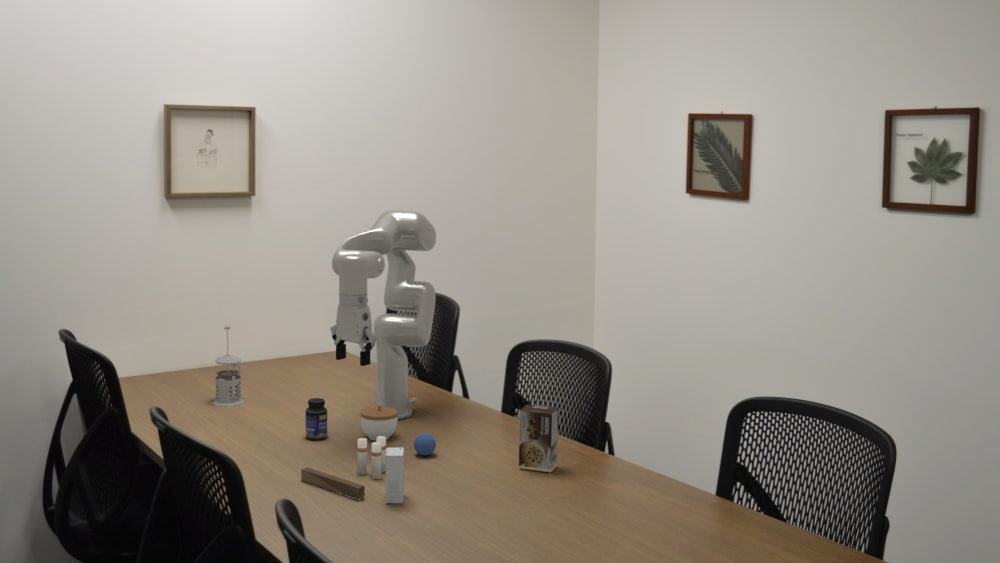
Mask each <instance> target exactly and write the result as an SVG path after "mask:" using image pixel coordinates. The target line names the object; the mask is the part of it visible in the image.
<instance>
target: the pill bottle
mask: <svg viewBox="0 0 1000 563" xmlns="http://www.w3.org/2000/svg"><path fill="white" fill-rule="evenodd" d="M325 401H326V399H324V398H321V397H313V398H310V399H309V398H308V400H307V405H308V407H307V408H305V438H306V439H307V440H310V441H317V440H318V441H323V440H325V439H326V438H328V409H327V408H326V407H325V405H326V402H325Z"/></svg>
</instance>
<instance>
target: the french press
mask: <svg viewBox="0 0 1000 563" xmlns="http://www.w3.org/2000/svg"><path fill="white" fill-rule="evenodd" d="M224 330H226V338H227V340H226V342H227V347H226V348H227V354H226V355H222V356H219V357H217V358H216V359H215V360H214V362H215V364H217V365H223V366H224V365H227V366H231V367H234V368H233V370H232V369H223V370H219V371H217V372H216V375H217V376H215V400H214V401H213V402H212V405H214V406H216V407H223V406H229V407H235V406H234V405H237V406H240V405H239V404H241V403H243V402H244V403H245V400H244V399H243V398H242V394H241V393H242V390H241V389H242V382H241V381H242V380H241V378H242V377H241V376H242V375H241V366H240V363H241V362H242V359H241V358H240V357H238V356H236V355H232V354H231V355H230V354H229V330H231V326H230V325H225V326H224ZM237 365H238V370H236V366H237ZM243 400H244V401H243ZM244 403H243V404H244ZM241 405H242V404H241Z"/></svg>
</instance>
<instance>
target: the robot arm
mask: <svg viewBox="0 0 1000 563" xmlns="http://www.w3.org/2000/svg"><path fill="white" fill-rule="evenodd" d="M436 242H437V233H436V230H435V227H434V225H433V224H432V223H431V222H430V221H429V220H428V218H427V217H426V216H425V215H424V214H422V213H420V212H418V211H411V210H409V211H407V210H387V211H384V212H382V213H381V214H380V216H379V217H378V218H377V219H376V220H375V222H374V223H373V225H372V226H371V228H369V230H367V231H363V232H361V233H359V234H356V235H353V236H351V237H349V238H347V239H345V240H343V241H342V242H341V243H340V245H339V246H338V247H337V249H336V250H335V251H334V254H333V256H332V259H331V260H332V261H331V267H332V271H333V272H334V273H335V274H336V275H337V276H338V304H337V309H336V310H337V311H336V321H335V324H334V325H333V326H331V327H330V328H329V329H330V333H331V335H332V336H331V338H332V340H333V341H334V342H333V344H334V345H335V360H337V361H339V360H344V359H346V358H347V343H346V342H348V343H353V344H358V346H359V348H360V349H361V350H360V352H359V365H360V366H361V367H364V366H369V365H371V351H372V350H373V348H374V347H375V348H376V381H375V382H376V386H375V388H376V389H375V390H376V391H375V392H376V398H375V399H376V400H375V401H376V403H375V404H376V405H375V406H378V405H381V406H386V407H392V408H395V409H397V410H398V420H402V419H407V418H409V417H411V416H412V415H413V410H412V409H411V408H410V406H411V405H414V404H416V403H417V402H418V398H416V396H414V397H411V398H409V397H408V371H409V370H408V366H409V364H408V363H409V362H408V361H409V360H408V356H407V354H406V352H405V350H404V349H403V346H404V347H416V348H417V347H419V348H421V347H424V346H425V347H426V346H427V345H428V344H429V341H430V339H431V336H432V328H433V321H434V315H435V308H436V297H437V296H436V290H435V287H434V286H433V285H432V283H431V282H426V281H417V280H415V277H416V276H415V275H416V271H417V270H416V269H417V268H416V264H415V262H414V260H413V259H412V257H411V256H410V255H409V253H408V252H407V251H414V252H415V251H416V252H429V251H431V250H432V249H434V247H435V245H436ZM384 256H386V258H387V262H388V266H387V267H388V268H387V274H386V281H385V282H386V283H385V286H384V292H383V293H384V294H383V304H384V306H385V308H386V309H388V310H390V311H396V312H397V311H398V312H409V313H411V312H412V313H416V314H405V313H404V314H403V313H383V314H379V315H378V316H377V317H376V318H375V320H374V324H373V323H372V316H371V309H370V305H368V302H369V299H368V279H376V278H378V277H380V276H381V275H382V274H383V273H384V270H385V266H386V262H385V258H384ZM372 325H373V326H372Z"/></svg>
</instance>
